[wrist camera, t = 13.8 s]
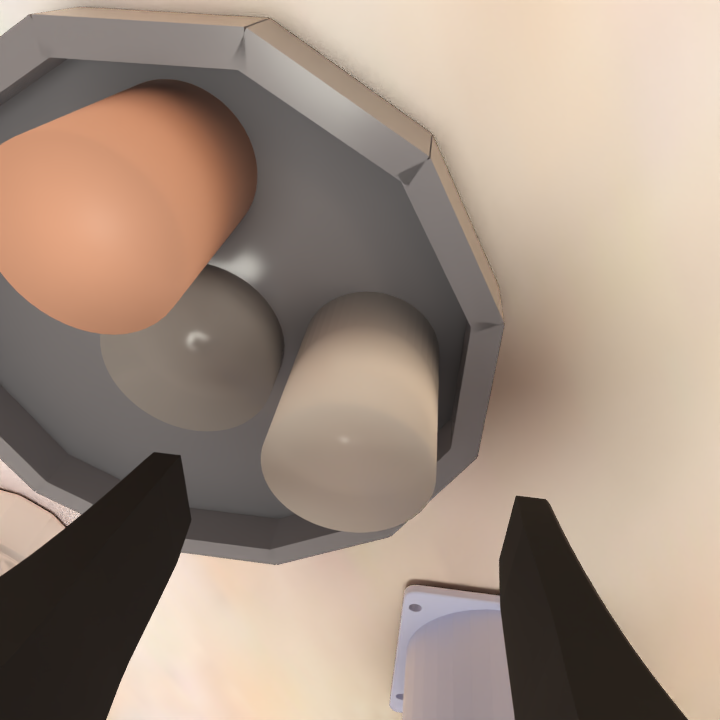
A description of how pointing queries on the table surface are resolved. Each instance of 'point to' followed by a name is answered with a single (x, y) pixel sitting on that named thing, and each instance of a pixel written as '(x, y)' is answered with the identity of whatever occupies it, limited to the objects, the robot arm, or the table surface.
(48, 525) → the white cup
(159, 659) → the table surface
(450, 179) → the groove tray
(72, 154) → the bead terracotta
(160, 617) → the table surface
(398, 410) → the bead cream
